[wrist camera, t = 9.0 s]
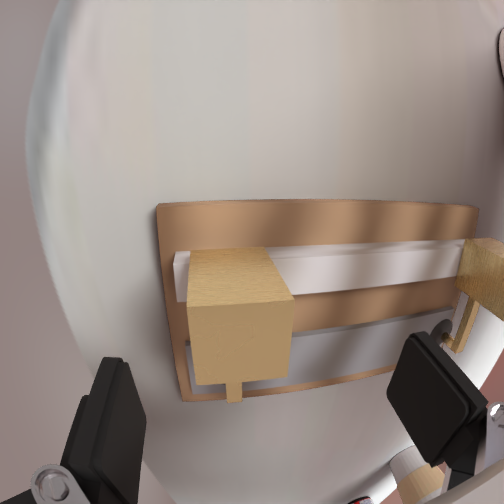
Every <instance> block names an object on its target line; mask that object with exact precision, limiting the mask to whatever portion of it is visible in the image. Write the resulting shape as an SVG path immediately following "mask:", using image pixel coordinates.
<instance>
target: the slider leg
mask: <svg viewBox="0 0 504 504" xmlns="http://www.w3.org/2000/svg"><path fill="white" fill-rule="evenodd" d="M294 304H295V299H294V297H293V296H292V294H291V292H290V290H289V289H288V287H287V285H286V284H285V282H284V280H283V278H282V277H281V275H280V273H279V272H278V270H277V268H276V267H275V265H274V263H273V261H272V260H271V258H270V256H269V255H268V253H267V251H266V250H265V248H264V247H249V248H227V249H205V250H190V263H189V276H188V291H187V316H188V325H189V333H190V341H191V349H192V357H193V364H194V372H195V379H196V385H210V384H225V386H226V398H227V403H233V402H242V382H248V381H258V380H267V379H275V378H283V377H287V376H288V367H289V357H290V347H291V337H292V327H293V315H294Z"/></svg>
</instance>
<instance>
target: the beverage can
mask: <svg viewBox="0 0 504 504" xmlns="http://www.w3.org/2000/svg"><path fill="white" fill-rule="evenodd" d="M349 504H373V502H372V500H371V498H370V497H362V498H359V499H357V500H354V501H352V502H350V503H349Z"/></svg>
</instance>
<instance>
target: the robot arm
mask: <svg viewBox="0 0 504 504" xmlns="http://www.w3.org/2000/svg"><path fill="white" fill-rule="evenodd" d="M499 54H500V62H501V67H502V72H503V76H504V29H503V30H502V32H501V34H500V40H499ZM387 398H388V400H389V402H390V403H391V405H392V407H393V408H394V410H395V412H396V413H397V415H398V417H399V418H400V420H401V422H402V423H403V425H404V427H405V428H406V430H407V432H408V434H409V435H410V437H411V439H412V440H413V442H414V444H415V446H416V447H417V449H418V451H419V453H420V454H421V456H422V458H423V460H424V461H425V462H426V463H429V465H430V466H431V468H433V467H435V466H437V465H439V464H442V463H443V462H444V461H445V462H446V464H447V467H446V472H445V476H444V481H443V485H442V489H441V493H440V495H439V496H437V497H435V498H433V499H431V500H429V501H427V502H425V503H423V504H504V402H495V403H493V404H491V405H490V407H489V408H488V409H487V408H486V405H487V404H488V401H487V399H486V398H485V397H484V396H483V395H482V394H481V392H480V391H479V390H478V389H477V388H476V386H475V385H474V384H473V383H472V382H471V380H470V379H469V378H468V377H467V376H466V375H465V374H464V372H463V371H462V370H461V369H460V368H459V367H458V366H457V364H456V363H455V362H454V361H453V360H452V359H451V358H450V357H449V356H448V354H447V353H446V352H445V351H444V350H443V349H442V348H441V347H440V346H439V345H438V343H437V342H436V341H435V340H434V339H433V338H432V337H431V336H430V335H429V334H428V333H427V332H426V331H421V332H416V333H412V334H410V335H409V337H408V338H407V339H406V340H405V343H404V346H403V349H402V352H401V354H400V357H399V360H398V363H397V365H396V368H395V371H394V373H393V376H392V378H391V381H390V383H389V386H388V388H387ZM145 430H146V415H145V412H144V410H143V407H142V404H141V401H140V398H139V395H138V392H137V389H136V386H135V383H134V380H133V377H132V374H131V371H130V367H129V364H128V363H127V362H123V360H122V358H116V357H104V358H103V359H102V361H101V364H100V366H99V369H98V372H97V374H96V377H95V380H94V383H93V385H92V388H91V391H90V394H89V395H84V396H83V397H82V399H81V401H80V404H79V407H78V409H77V412H76V415H75V418H74V421H73V424H72V427H71V430H70V433H69V436H68V439H67V442H66V446H65V449H64V452H63V456H62V459H61V463H60V466H59V465H55V464H50V465H45V466H42V467H40V468H39V469H37V471H36V472H35V473H34V474H33V476H32V478H31V489H29V490H27V491H25V492H23V493H21V494H19V495H16V496H14V497H12V498H10V499H8V500H6V501H3V502H1V503H0V504H137V503H138V491H139V481H140V470H141V462H142V453H143V445H144V437H145Z"/></svg>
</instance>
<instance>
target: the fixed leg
mask: <svg viewBox="0 0 504 504" xmlns="http://www.w3.org/2000/svg"><path fill="white" fill-rule="evenodd" d="M454 286H456V287H457V288H458V289H460V290H461V291H463V292H464V293H466V294H467V295H468V296H469V299H468V302H467V305H466V308H465V311H464V314H463V317H462V320H461V323H460V326H459V328H458V331H457V334H456V337H455V339H454V338H453V337H452V336H451V335H449V334H448V333H447V332H444V333H443V334H442V336H441V340H442V341H443V342H444V343H445V344H446V345H447V346H448V347H449V348H450V349H451V350H452V351H453V352H454V353H455V354H456V353H459V352H462V351H463V348H464V346H465V344H466V341H467V339H468V336H469V334H470V331H471V328H472V326H473V323H474V320H475V317H476V315H477V312H478V309H479V306H480V304H481V305H482V306H483V307H485V308H486V309H488V310H489V311H490V312H492V313H493V314H494V315H496V316H497V317H498V318H500V319H501V320H502V321H504V244H503V243H501V242H499V241H497V240H495V239H493V238H469V239H465V241H464V246H463V251H462V256H461V260H460V264H459V269H458V273H457V277H456V280H455V284H454Z"/></svg>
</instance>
